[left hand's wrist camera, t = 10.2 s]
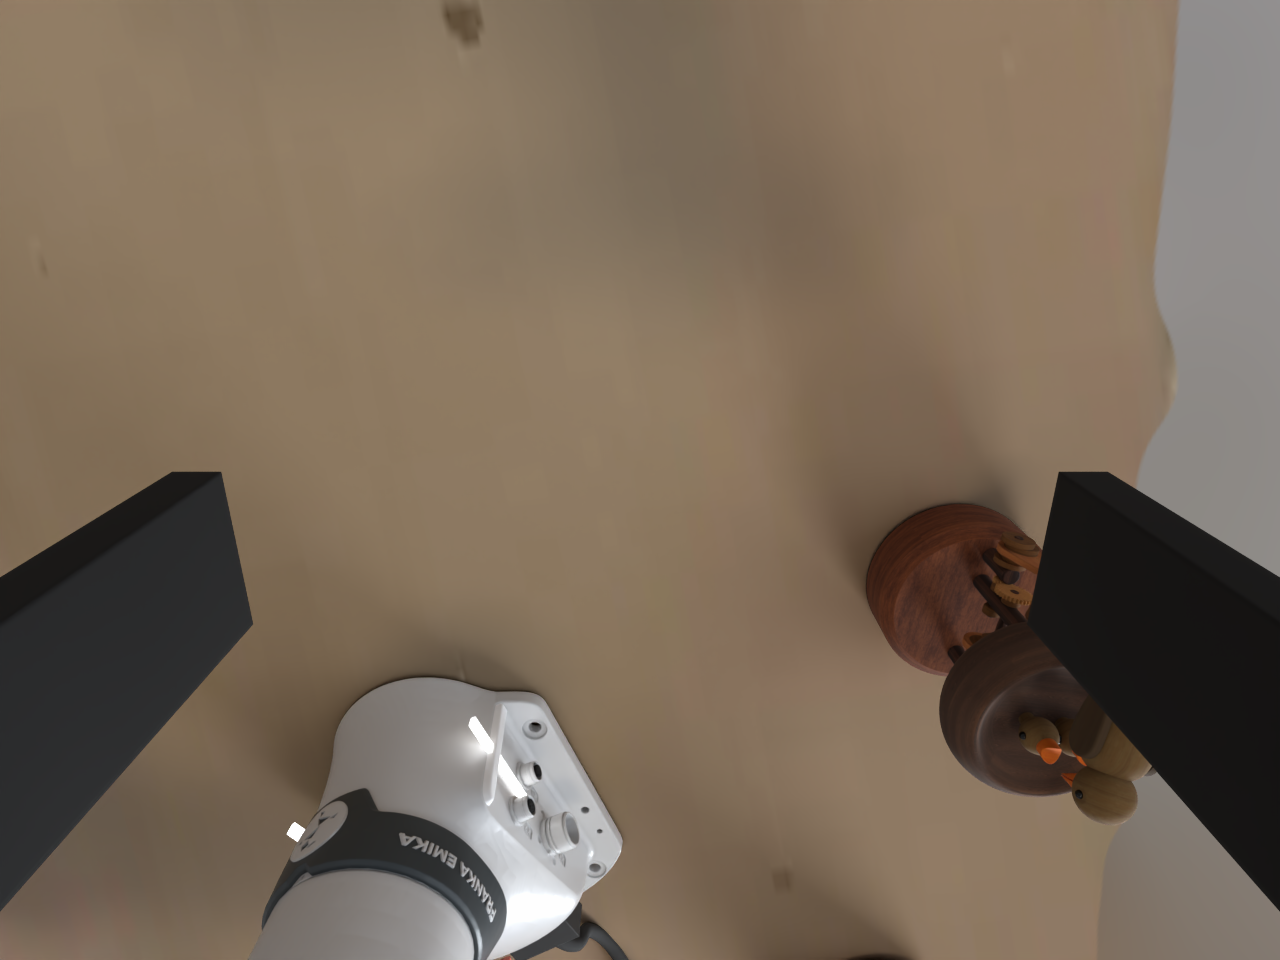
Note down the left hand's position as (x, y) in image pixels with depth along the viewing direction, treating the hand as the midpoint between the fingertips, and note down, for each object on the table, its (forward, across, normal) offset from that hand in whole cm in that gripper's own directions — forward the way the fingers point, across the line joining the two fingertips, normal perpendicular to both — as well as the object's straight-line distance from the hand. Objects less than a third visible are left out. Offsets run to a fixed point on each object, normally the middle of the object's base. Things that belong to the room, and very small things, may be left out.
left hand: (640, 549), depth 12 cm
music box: (+32, +20, -19) cm, 42 cm away
